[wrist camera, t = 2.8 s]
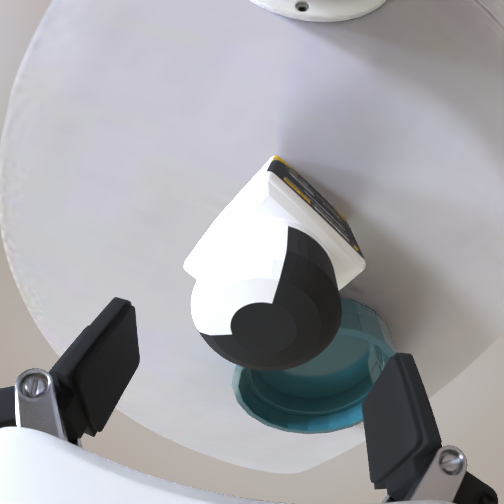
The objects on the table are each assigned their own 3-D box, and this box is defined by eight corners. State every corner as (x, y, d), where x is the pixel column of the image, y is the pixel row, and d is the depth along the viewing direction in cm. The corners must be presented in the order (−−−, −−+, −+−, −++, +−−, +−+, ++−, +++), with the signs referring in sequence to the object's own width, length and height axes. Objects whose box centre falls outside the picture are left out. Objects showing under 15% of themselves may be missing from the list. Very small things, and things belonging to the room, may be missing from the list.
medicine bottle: (348, 221, 21) (394, 326, 10) (281, 283, 24) (268, 407, 13) (275, 152, 20) (254, 195, 9) (211, 224, 23) (142, 322, 12)
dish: (253, 277, 24) (245, 310, 20) (413, 306, 23) (430, 339, 19) (233, 388, 30) (225, 421, 26) (357, 405, 30) (361, 437, 25)
